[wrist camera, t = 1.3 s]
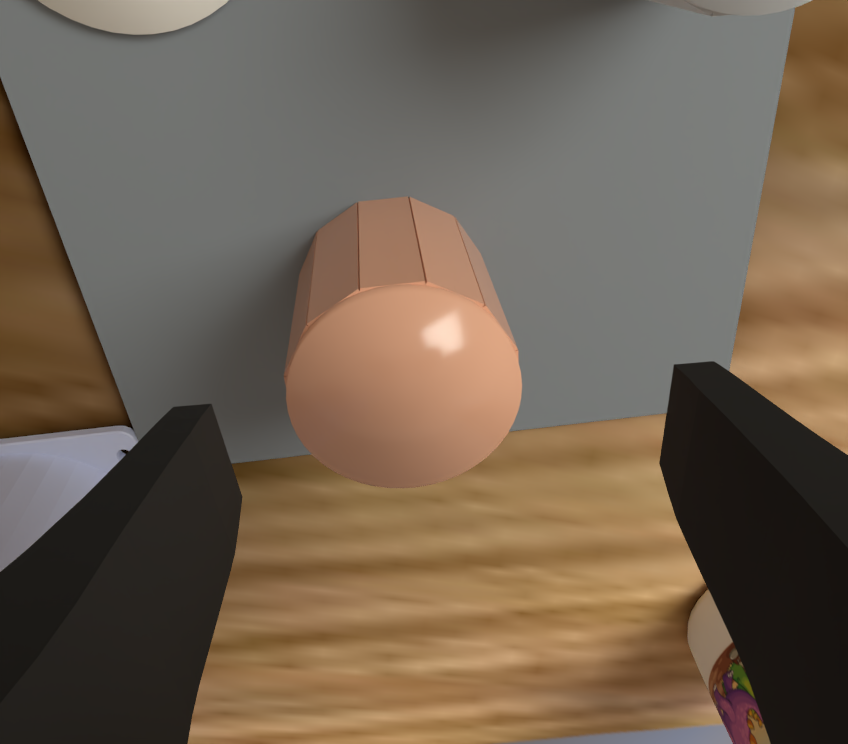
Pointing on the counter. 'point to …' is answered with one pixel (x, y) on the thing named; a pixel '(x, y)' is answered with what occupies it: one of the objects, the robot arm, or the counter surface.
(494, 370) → the peach domed cylinder
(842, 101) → the counter surface
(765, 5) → the white domed cylinder
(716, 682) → the milk bottle
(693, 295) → the slate mat
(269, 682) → the counter surface
